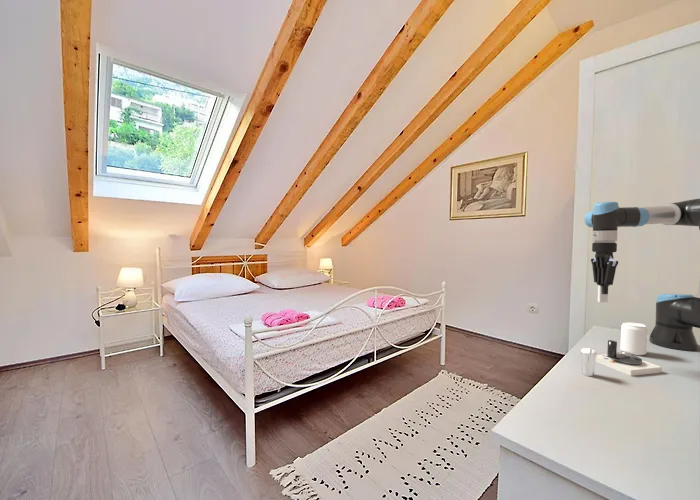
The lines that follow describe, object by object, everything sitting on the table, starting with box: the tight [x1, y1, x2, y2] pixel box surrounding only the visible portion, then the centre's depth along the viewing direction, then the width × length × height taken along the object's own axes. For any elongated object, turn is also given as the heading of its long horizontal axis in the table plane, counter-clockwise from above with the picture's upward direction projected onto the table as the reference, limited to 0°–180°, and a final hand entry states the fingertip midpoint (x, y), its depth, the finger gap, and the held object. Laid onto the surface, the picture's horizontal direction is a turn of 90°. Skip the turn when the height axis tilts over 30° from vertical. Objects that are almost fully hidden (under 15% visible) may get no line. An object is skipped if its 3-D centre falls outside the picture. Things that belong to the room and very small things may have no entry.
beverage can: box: [619, 321, 648, 356], centre depth 132 cm, size 8×8×12 cm
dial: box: [606, 339, 643, 365], centre depth 118 cm, size 11×9×7 cm
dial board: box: [596, 353, 663, 377], centre depth 118 cm, size 14×14×2 cm
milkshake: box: [580, 347, 598, 377], centre depth 110 cm, size 4×5×10 cm
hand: (602, 301), depth 124 cm, fingers closed
